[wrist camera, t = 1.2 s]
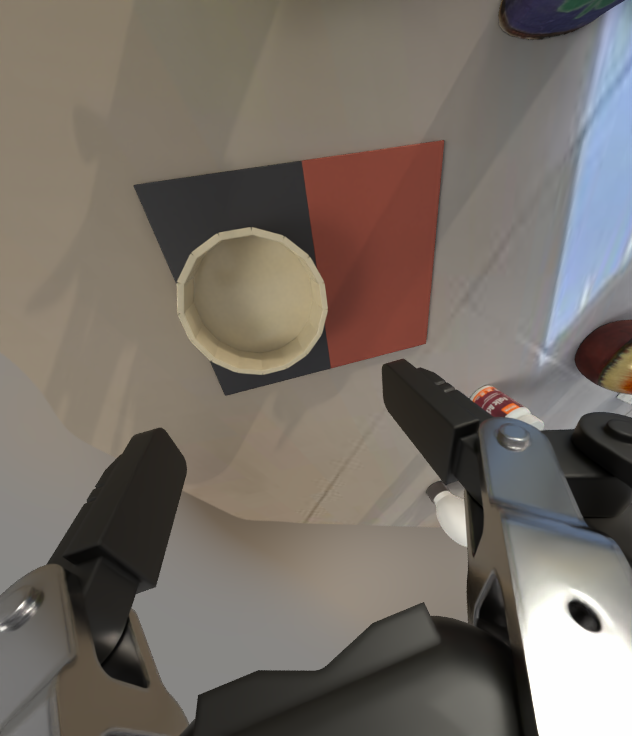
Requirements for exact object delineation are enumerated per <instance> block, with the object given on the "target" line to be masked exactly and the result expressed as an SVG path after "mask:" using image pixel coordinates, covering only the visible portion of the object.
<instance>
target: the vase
mask: <svg viewBox="0 0 632 736" xmlns="http://www.w3.org/2000/svg"><path fill="white" fill-rule="evenodd" d="M575 363H576V366H577V368H578V370H579V371H580V372H581V373H582V374H583V375H584V376H585V377H586V378H587V379H589V380H590V381H592V382H593V383H595V384H597V385H599V386H601V387H603V388H605V389H608V390H611V391H614V392H618V393H622V394H629V395H632V320H621V321H616V322H612V323H608V324H606V325H603V326H601V327H599V328H598V329H596V330H595V331H593V332H592V333H591V334H590V335H589V336H588V337H587V338H586V339H585V340H584V341H583V342H582V344H581V345H580V347H579V348H578V350H577V353H576V356H575Z"/></svg>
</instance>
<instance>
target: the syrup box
mask: <svg viewBox="0 0 632 736" xmlns="http://www.w3.org/2000/svg"><path fill="white" fill-rule="evenodd" d="M617 398H618V399H620V400H622V401H624V402H627V403H629V404H631V405H632V395H629V394H622V393H620V394H619V395H618V396H617Z"/></svg>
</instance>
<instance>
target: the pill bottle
mask: <svg viewBox="0 0 632 736" xmlns="http://www.w3.org/2000/svg"><path fill="white" fill-rule="evenodd" d="M470 400H472V401H473V402H474V403H476V404H477V405H478V406H480V407H481V408H482V409H484V410H485V411H486V412H488V413H489V414H490V415H492V416H493V417H508V418H514V419H517V420H521V421H523V422H526V423H528V424H530V425H532V426H534V427H536V428H537V429H539V430H540V431H542V430H543V428H544V423H543V422H542V421H541V420H540V419H538V418H537V417H535V416H533V415H531V413H530V411H529V410H528V409H527V408H526V407H524V406H522V405H521V404H519V403H518V402H516V401H515V400H513V399H511V398H510V397H508V396H507V395H505V394H504V393H502V392H501V391H499V390H497V389H496V388H494V387H492V386H484V387H482V388H480V389H478V390H477V391H476V392H475V393H474V394H473V395H472V396H471V398H470Z"/></svg>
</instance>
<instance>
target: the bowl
mask: <svg viewBox="0 0 632 736" xmlns="http://www.w3.org/2000/svg"><path fill="white" fill-rule="evenodd" d="M177 282H178V283H177V313H179V314H178V316H179V319H180V321H181V323H182V325H183V327H184V329H185V332H186V334H187V336H188V338H189V340H190V341H191V343H192V344H193V345H194V346H195V347H196V348H198V349H199V350H200V351H201V352H202V353H203V354H204V355H205V356H206V357H207V358H208V359H209V360H210V361H212V362H213V363H215V364H218V365H220V366H222V367H224V368H227V369H229V370H231V371H233V372H237V373H245V374H257V375H262V373H263V375H265V374H269V373H273V372H276V371H280V370H284V369H286V367H287V368H289V367H290V366H292V365H293V364H295V363H296V362H298V361H299V360H301V359H302V358H304V357H305V356H307V354H309V352H310V351H311V349H312V348H313V347H314V345H315V344H316V342H317V341H318V339H319V338H320V337H321V334H322V332H323V328H324V324H325V320H326V316H327V312H328V310H327V309H328V305H327V297H326V289H325V283H324V280H323V279H322V277H321V275H320V273H319V272H318V270H317V268H316V266H315V264H314V263H313V261H312V259H311V257H309V255H308V254H307V253H305V252H304V251H303V250H302V249H300V248H299V247H298V246H297V245H295V244H294V243H293V242H292V241H290V240H289V239H288V238H286V237H285V236H283V235H280V234H276V233H272V232H269V231H265V230H261V229H257V228H254V227H252V229H251V227H247V228H242V229H236V230H230V231H225V232H219V233H218V234H215V235H214V236H212V237H211V238H210V239H208V240H207V241H206V242H204V243H203V244H202V245H200V246H199V247H198V248H196V249H195V250H194V251H192V253H191V254H190V255H189V257H188V259H187V262H186V264H185V266H184V268H183V270H182V272H181V274H180V276H179V278H178V280H177Z"/></svg>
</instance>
